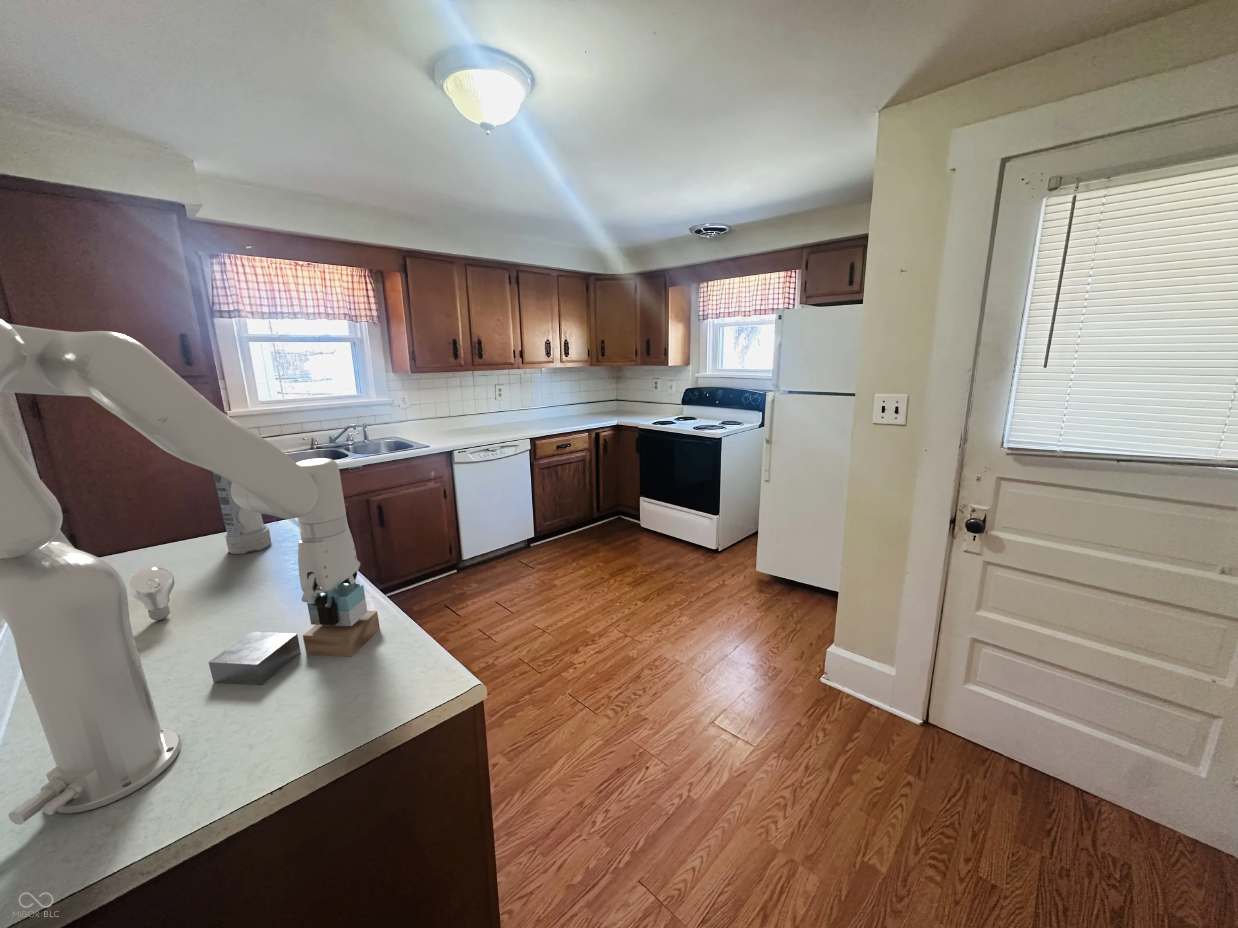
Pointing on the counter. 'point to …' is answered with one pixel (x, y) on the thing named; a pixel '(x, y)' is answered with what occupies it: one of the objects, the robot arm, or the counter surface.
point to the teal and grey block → (344, 604)
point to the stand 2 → (341, 637)
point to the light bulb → (153, 590)
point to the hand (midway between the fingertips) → (339, 614)
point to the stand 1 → (255, 658)
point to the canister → (240, 522)
